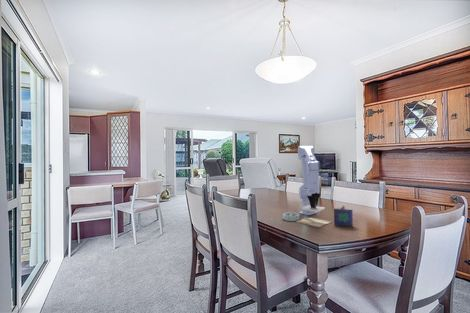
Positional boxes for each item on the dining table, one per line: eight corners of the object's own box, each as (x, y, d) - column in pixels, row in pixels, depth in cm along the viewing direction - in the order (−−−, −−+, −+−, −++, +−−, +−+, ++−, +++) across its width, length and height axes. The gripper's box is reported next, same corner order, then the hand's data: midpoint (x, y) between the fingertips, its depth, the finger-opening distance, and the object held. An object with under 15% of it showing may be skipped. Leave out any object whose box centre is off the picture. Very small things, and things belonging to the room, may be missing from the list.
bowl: (290, 216, 155) (289, 212, 155) (302, 219, 148) (302, 214, 148) (280, 219, 149) (280, 214, 149) (292, 222, 142) (292, 217, 142)
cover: (307, 206, 148) (307, 199, 148) (325, 208, 142) (325, 201, 142) (301, 209, 140) (301, 201, 140) (319, 211, 134) (319, 204, 134)
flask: (352, 225, 134) (352, 205, 134) (353, 227, 131) (353, 206, 131) (333, 224, 136) (333, 204, 136) (334, 225, 134) (334, 205, 133)
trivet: (310, 217, 151) (310, 217, 151) (332, 222, 140) (332, 221, 140) (296, 222, 142) (296, 221, 142) (317, 227, 131) (317, 226, 131)
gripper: (311, 181, 149) (311, 203, 149) (301, 183, 137) (302, 208, 137) (323, 181, 145) (323, 205, 145) (314, 184, 133) (314, 209, 133)
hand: (313, 206), depth 141 cm, fingers closed on cover, 3 cm apart
